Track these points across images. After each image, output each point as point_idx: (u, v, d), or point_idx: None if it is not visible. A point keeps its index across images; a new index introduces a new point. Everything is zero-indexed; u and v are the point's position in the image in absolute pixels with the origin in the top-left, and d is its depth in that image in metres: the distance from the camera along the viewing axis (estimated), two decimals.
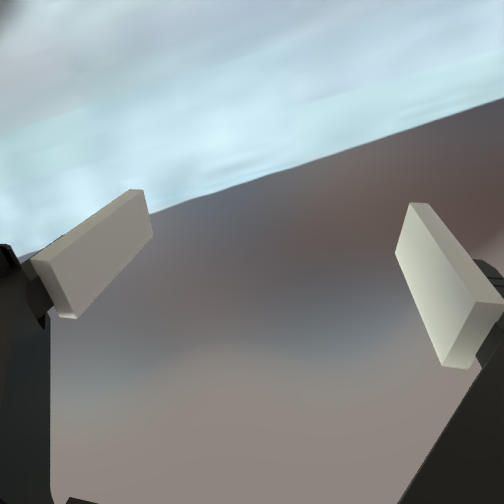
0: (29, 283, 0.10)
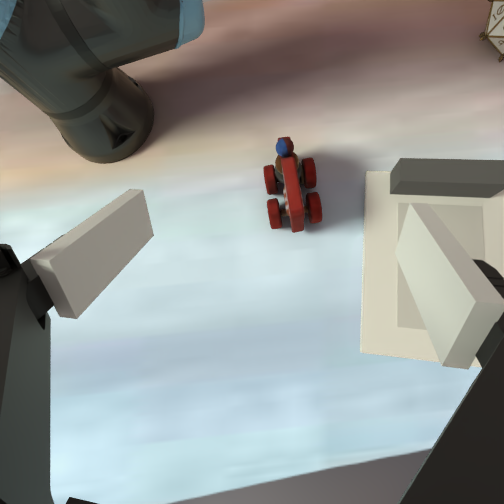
0: (29, 283, 0.10)
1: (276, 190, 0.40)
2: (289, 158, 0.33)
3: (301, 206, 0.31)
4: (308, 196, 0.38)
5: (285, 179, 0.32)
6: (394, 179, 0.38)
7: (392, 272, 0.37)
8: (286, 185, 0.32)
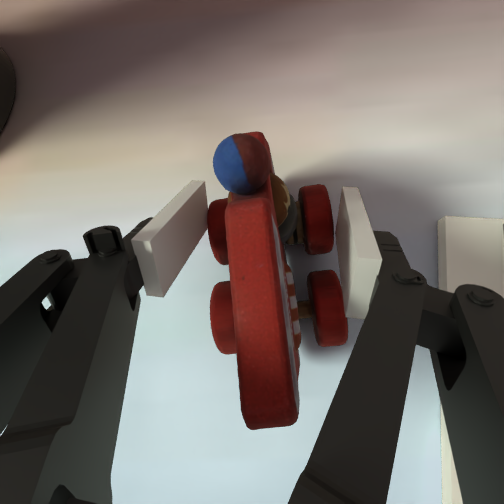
0: (128, 265, 0.11)
1: None
2: (253, 204, 0.10)
3: (286, 400, 0.08)
4: (313, 286, 0.15)
5: (233, 282, 0.09)
6: None
7: None
8: (235, 306, 0.09)
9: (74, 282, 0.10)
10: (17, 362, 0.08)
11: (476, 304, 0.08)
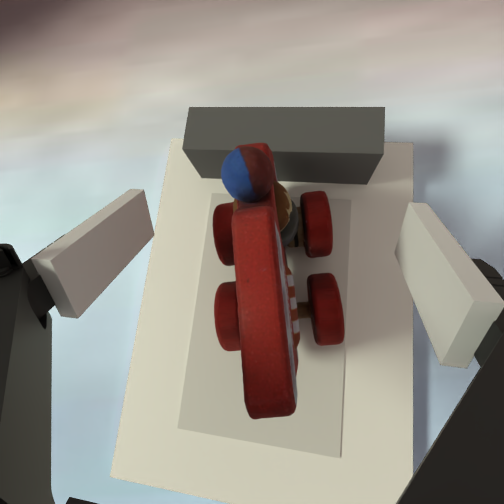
0: (30, 283, 0.10)
1: None
2: (258, 212, 0.10)
3: (286, 393, 0.09)
4: (312, 288, 0.16)
5: (238, 284, 0.10)
6: None
7: (184, 321, 0.20)
8: (240, 306, 0.10)
9: None
10: None
11: None
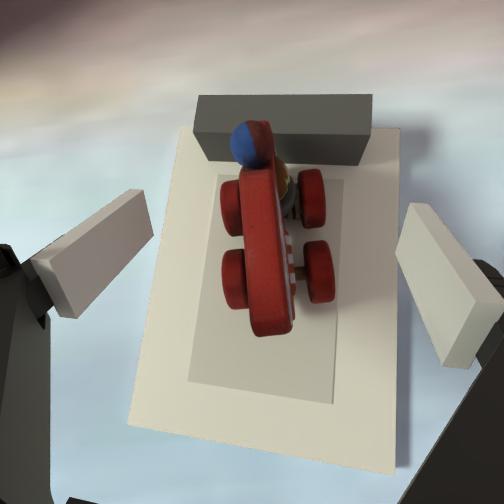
0: (29, 283, 0.10)
1: None
2: (260, 173, 0.13)
3: (283, 312, 0.11)
4: (307, 251, 0.18)
5: (245, 230, 0.12)
6: None
7: (193, 288, 0.22)
8: (246, 246, 0.12)
9: None
10: None
11: None
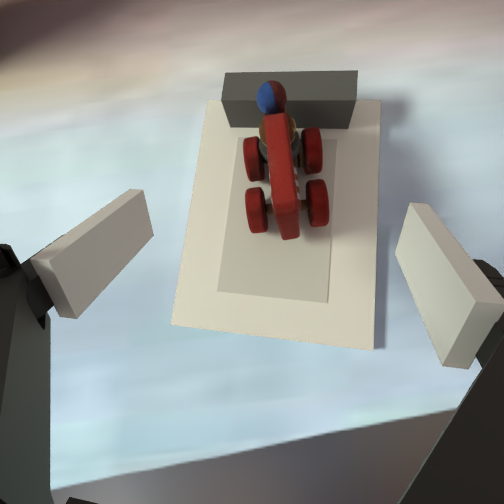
0: (29, 283, 0.10)
1: (261, 175, 0.27)
2: (278, 114, 0.19)
3: (294, 197, 0.17)
4: (309, 185, 0.24)
5: (268, 149, 0.18)
6: None
7: (220, 223, 0.29)
8: (269, 160, 0.18)
9: None
10: None
11: None
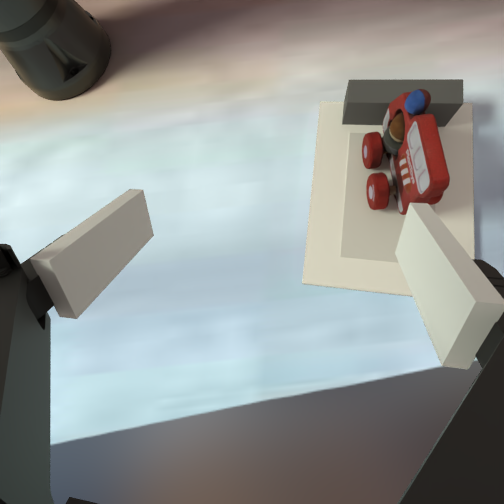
0: (29, 283, 0.10)
1: (380, 163, 0.33)
2: (428, 114, 0.25)
3: (447, 175, 0.24)
4: None
5: (423, 141, 0.25)
6: (345, 106, 0.36)
7: (339, 202, 0.35)
8: (425, 148, 0.25)
9: None
10: None
11: None
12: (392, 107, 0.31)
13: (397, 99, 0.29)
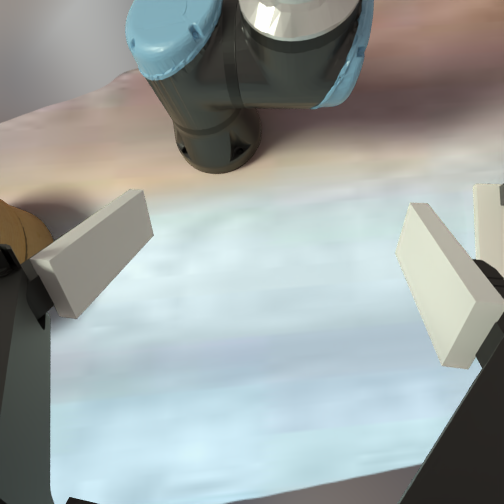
0: (29, 283, 0.10)
1: None
2: None
3: None
4: None
5: None
6: None
7: None
8: None
9: None
10: None
11: None
12: None
13: None
